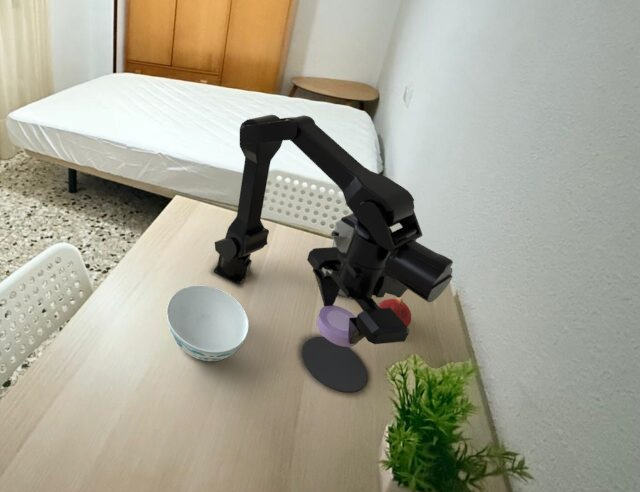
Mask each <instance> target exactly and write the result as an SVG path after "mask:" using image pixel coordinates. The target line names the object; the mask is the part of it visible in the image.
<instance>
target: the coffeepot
mask: <svg viewBox="0 0 640 492" xmlns="http://www.w3.org/2000/svg"><path fill="white" fill-rule="evenodd" d="M352 231H353V228H352V227H350V226H349V225H347V224H345V223H344V222H342V221H341V219H340V220H338V221H336V222H335V223H334V230H332V231H331V232H330V237H331V238H332V247H337V248H338V249H339V250H340V251H341V252H345V251H346V248H347V245H348V242H349V240H350V237H351V234H352ZM389 231H390V233H392V232H393V230H392V227H390V228H389ZM338 296H342V297H347V296H346V295H345V294H344V292H343V291H342V290H341V288H340V290H339V293H338ZM347 298H348V297H347Z"/></svg>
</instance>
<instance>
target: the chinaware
mask: <svg viewBox="0 0 640 492" xmlns="http://www.w3.org/2000/svg"><path fill="white" fill-rule="evenodd" d="M166 319H167V320H166V321H167V326H168V328H169V331H170V333H171V336H172V338H173V340H174V341H175V342H176V344H177V345H178V346H179V347H180V349H182V351H183V352H185V353H186V354H187V355H189V356H190V357H192V358H195V359H197V360H199V361H203V362H204V361H205V362H218V361H221V360H225V359H227V358H229V357H231V356H232V355H233V354H235V353H236V352H237V351H238V350H239V349H240V348H241V346H243V344H244V343H245V341H246V339H247V337H248V334H249V331H250V322H249V317H248V315H247V312H246V309H244V307H243V306H242V304H241V303H240V302H239V301H238V300H237V299H236V298H235V297H234V296H232V295H231V294H230V293H228V292H226V291H224V290H222V289H220V288H218V287H214V286H211V285H205V284H204V285H203V284H195V285H189V286H185V287H183V288H181V289H179V290H177V291H175V293H174V294H173V295H172V296H171V297H170V298H169V300H168V303H167V306H166Z"/></svg>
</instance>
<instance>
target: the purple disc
mask: <svg viewBox="0 0 640 492" xmlns="http://www.w3.org/2000/svg"><path fill="white" fill-rule="evenodd" d="M355 317H357V315H355V314H354V313H352V312H351V311H349V310H348V309H346V308H344V307H341V306H337V305H333V306H332V305H331V306H325V307H324V306H323V307H322V308H320V310H319V312H318V315H317V318H316V323H315V324H316V327H317V330H318V332H319V333H320V334H321V335H322V337H325V338H326V339H327V340H329V341H330V342H332V343H334V344H336V345H339V346H343V347H349V348H352V347H354V346H356V345H357V344H358V343H359V342H357V343H355V344H350V343H349V340H348V331H349V318H355Z"/></svg>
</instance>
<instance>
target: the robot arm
mask: <svg viewBox="0 0 640 492" xmlns="http://www.w3.org/2000/svg"><path fill="white" fill-rule="evenodd" d="M283 141H290V142H292V143H293V144H294V145H295V146H296V147H297V148H298V149H299V150H300V151H301V152H302V153H303V154H304V155H305V156H306V157H307V158H308V159H309V160H310V161H311V162H312V163H314V165H316V166H317V168H319V169H320V171H322V172H323V174H325V175H326V176H327V177H328V178H329V179H330V180H331V181H332V182H333V183H334V184H335V185H336V186H337V187H338V188H339V189H340V190H341V192H342V194H343V197H344V201H345V204H346V206H347V207H348V208H349V210H350V211H351V213H349V214H347V215H345V216H342V217H341V218H340V220H341V221H342V222H344V223H345V224H347V225H349V226H350V227H352V228H353V231H352V234H351V237H350V240H349V242H348V245H347V248H346V251H345V252H341V251H340V250H339V249H338V248H337V247H331V246H329V247H314V248H312V249H311V250H310V251H309V252H308V255H307V259H306V261H307V262H308V264H309V265H310V266H311V268H312V273H314V276H315V280H316V282H317V285H318V289H319V293H320V296H321V300H322V304H323V307H325V306H331V305H332V306H334V304H335V302H336V300H337V298H338V296H339V294H338V293H339V290H340V288H341V290H342V291H343V292H344V294H345V295H346V296H347V298H348V299H350V300H354V302H356V303H357V305H358V306H359V307H360V308H361V309H362V311H361V312H359V313H358V314H357V315H356V317H355V318H349V331H348V340H349V343H350V344H355V343H357V342H358V343H359V342H360V341H362V340H363V339H364V338H365V339H366V341H367V342H368V343H370V344H373V345H382V344H392V343H404V342H406V340H407V338H408V336H409V334H410V328H409V326H408V327H407V326H406V325H405V324H404V323H403V321H402V320H401V319H400V318H399V317H398V316H397V315H396V314H395V312H394V311H393V310H392V309H391V308H382V309H381V308H380V307H379V306H378V305H379V304H378V303H377V302H376V301H375V300H374V298H373V296H375V297H376V299H379V298H384V297H385V295H386V294H387V295H390V296H391V295H392V296H395V297H396V298H399V297H401V298H402V296H403V295H404V294H405V292H407V290H409V291H410V292H412V293H413V294H415V295H416V296H418V297H419V298H420V299H422V300H424V301H426V302H427V303H429V304H431V303H433V302H434V301H435V300H436V299H438V298H439V297H440V296H441V294H443V292H444V291H445V290H446V289H447V287H448V286H449V284H450V283H451V280H452V279H453V275H452V274H453V268H452V266H453V263H454V261H453V260H452V259H451V258H449V257H447V256H445V255H443V254H440V253H438V252H436V251H434V250H432V249H430V248H428V247H427V246H426V245H425V246H424V245H423V244H422V243H420V242H418V241H417V240H418V239H420V238H421V237H423V232H422V229H421V226H420V223H419V221H418V218H417V215H416V212H415V198H414V197H413V195H412V194H411V192H410V191H409V190H408V189H406V188H405V187H403V186H402V185H400V184H399V183H397V182H395V181H394V180H393V179H391V178H389V177H388V176H386V175H383V174H380V173H378V172H375V171H371V170H370V169H368V168H366V167H365V166H364V165H363V164H361V163H360V162H359V161H358V160H357V159H356V158H355V157H353V155H351V154H350V153H349V152H348V151H347V150H346V149H344V148H343V147H342V146H341V145H340V144H339V143H337V142H336V141H335V140H334V139H333V138H332V137H331V136H330V135H328V134H327V133H326V132H325V131H324V130H323V129H322V128H320V126H319V125H317V124H316V121H315V120H314V118H313V117H311V116H310V115H309V116H308V115H299V116H293V117H292V116H291V117H279V116H277V115H275V114H268V115H262V116H259V117H253V118H249V119H245V120H244V122H242V123H241V125H240V127H239V148H240V150H241V151H242V154H243V156H244V164H243V171H242V178H241V184H240V191H239V197H238V206H237V212H236V216H235V218H234V219H233V220H232V222H231V223H230V225H229V226H228V228H227V231H226V233H225V237H224V238H221V239H219V240H216V241H214V250H215V252H217V254H218V259H217V266H215V268H214V269H213V273H214V274H216V275H218V276H220V277H222V278H224V279H225V280H228V281H230V282H232V283H233V284H235V285H240V284H241V283H242V281H243V280H245V279H247V277H248V276H249V274H250V271H251V270H250V269H251V267H252V263H253V260H252V259H251V255H252V254H253V253H255V252H257V251H260V250H262V249H263V248H265V246H267V245H268V236H269V234H270V230H269V229H268V228H266V227H265V226H264V224H263V221H262V220H261V219H262V212H263V208H264V207H263V206H264V200H265V196H266V190H267V184H268V178H269V173H270V167H271V162H272V160H273V158H274V157H275V156H276V154H277V153H278V152H279V151H280V149H281V146H282V144H283ZM398 224H399V225H400V226H401V227H400V228H398V229H396V230H394V231H392V233H390V231H389V228H392V227H394V226H396V225H398ZM346 296H345V297H346ZM358 343H357V344H358Z"/></svg>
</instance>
